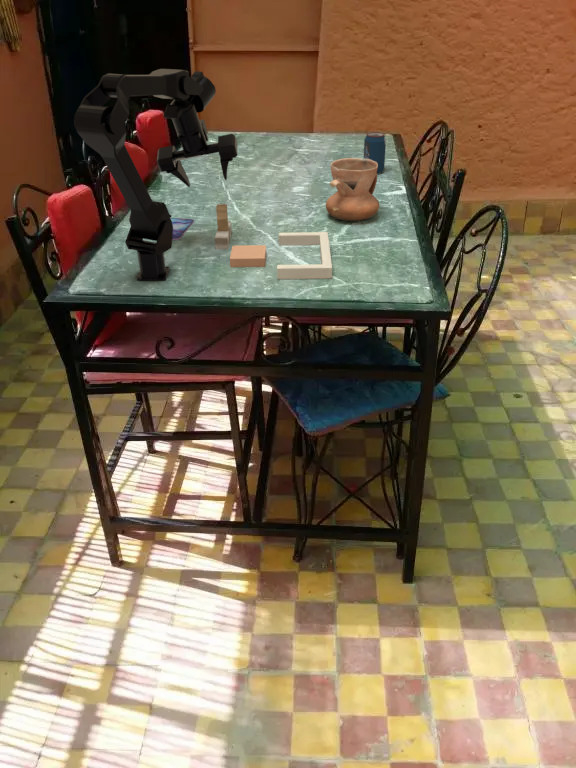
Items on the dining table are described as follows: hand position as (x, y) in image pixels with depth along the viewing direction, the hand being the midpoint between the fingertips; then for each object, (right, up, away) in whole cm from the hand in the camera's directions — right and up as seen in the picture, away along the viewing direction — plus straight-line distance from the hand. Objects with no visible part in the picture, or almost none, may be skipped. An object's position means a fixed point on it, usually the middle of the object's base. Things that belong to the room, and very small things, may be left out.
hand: (207, 182), depth 154 cm
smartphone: (-11, -9, +13) cm, 19 cm away
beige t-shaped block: (+3, -13, +6) cm, 15 cm away
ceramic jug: (+38, -3, +20) cm, 42 cm away
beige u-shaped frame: (+22, -20, -5) cm, 30 cm away
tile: (+10, -20, -5) cm, 23 cm away
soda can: (+48, +21, +55) cm, 76 cm away
